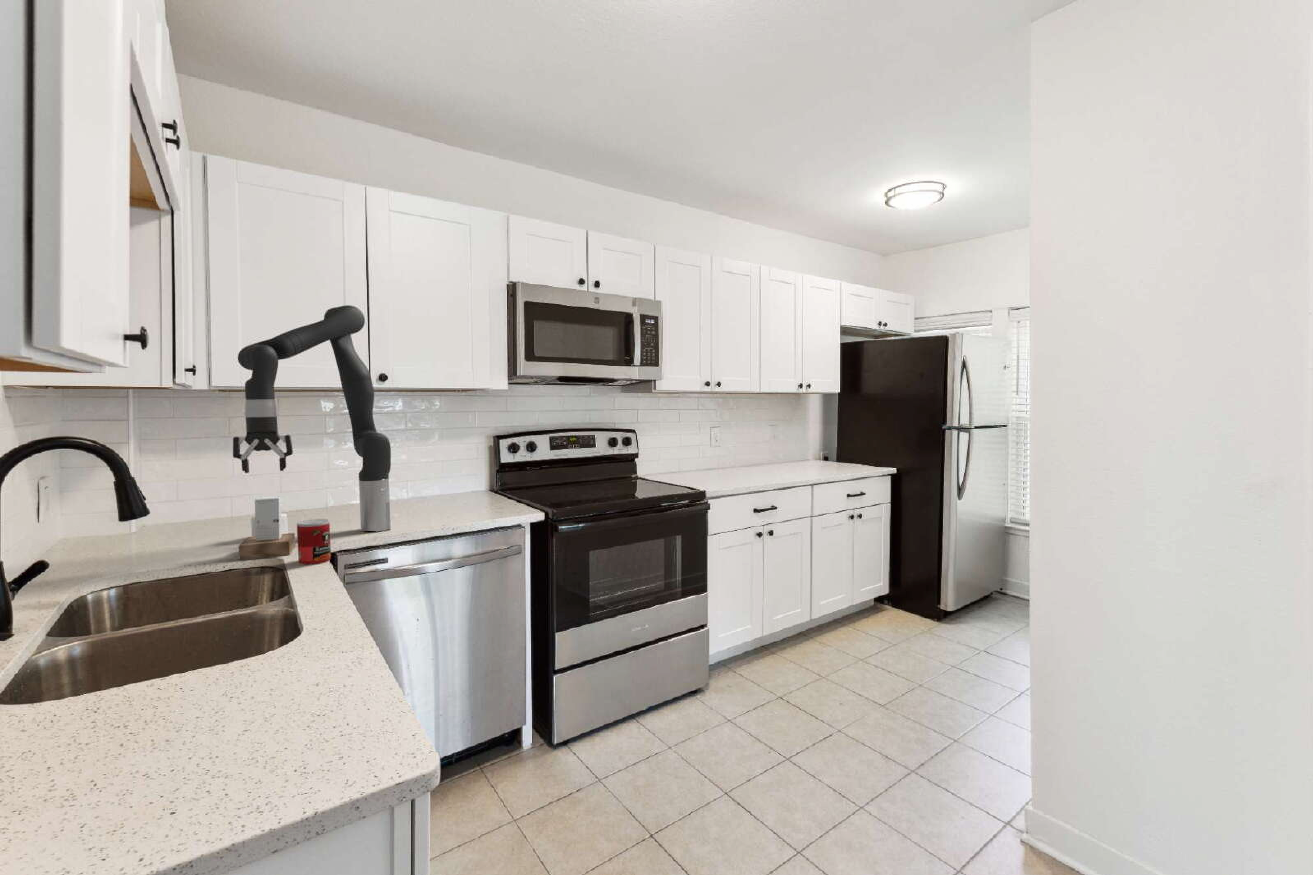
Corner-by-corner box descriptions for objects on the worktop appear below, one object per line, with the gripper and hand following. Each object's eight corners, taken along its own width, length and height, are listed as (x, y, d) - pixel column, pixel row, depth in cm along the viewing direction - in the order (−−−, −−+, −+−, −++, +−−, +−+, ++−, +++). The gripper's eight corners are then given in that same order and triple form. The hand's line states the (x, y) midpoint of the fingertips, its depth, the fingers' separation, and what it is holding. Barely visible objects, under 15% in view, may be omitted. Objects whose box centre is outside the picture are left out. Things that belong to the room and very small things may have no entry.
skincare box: (255, 541, 171) (253, 499, 170) (258, 538, 175) (256, 497, 174) (280, 539, 173) (278, 497, 173) (282, 536, 178) (281, 495, 177)
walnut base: (295, 545, 182) (294, 532, 182) (289, 555, 171) (288, 541, 171) (248, 550, 177) (247, 536, 177) (239, 559, 166) (238, 545, 166)
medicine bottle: (288, 535, 197) (286, 499, 196) (272, 540, 190) (270, 502, 189) (268, 535, 198) (266, 499, 197) (251, 540, 191) (249, 502, 190)
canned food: (317, 565, 160) (315, 524, 159) (291, 564, 161) (289, 523, 161) (337, 558, 168) (336, 519, 167) (312, 557, 169) (310, 518, 168)
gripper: (292, 414, 178) (294, 468, 179) (234, 415, 172) (237, 472, 173) (288, 415, 171) (291, 471, 172) (228, 416, 165) (231, 474, 166)
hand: (264, 471), depth 173 cm, fingers open, 8 cm apart
